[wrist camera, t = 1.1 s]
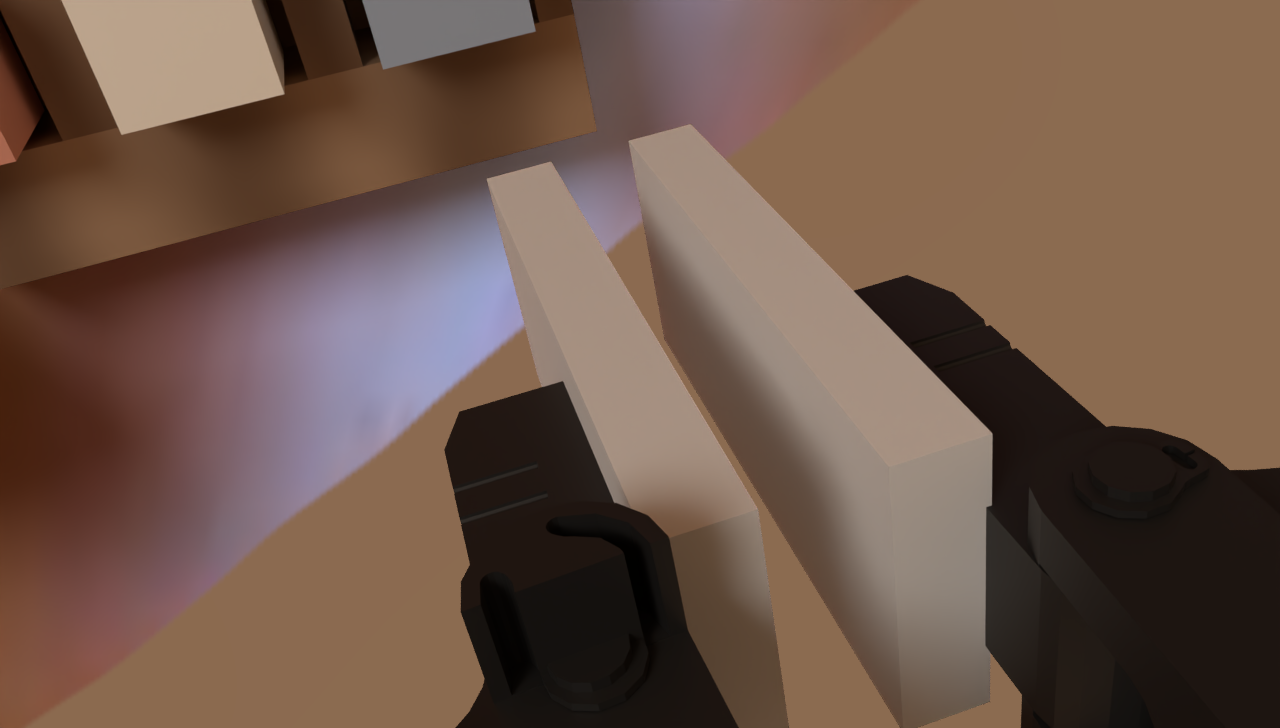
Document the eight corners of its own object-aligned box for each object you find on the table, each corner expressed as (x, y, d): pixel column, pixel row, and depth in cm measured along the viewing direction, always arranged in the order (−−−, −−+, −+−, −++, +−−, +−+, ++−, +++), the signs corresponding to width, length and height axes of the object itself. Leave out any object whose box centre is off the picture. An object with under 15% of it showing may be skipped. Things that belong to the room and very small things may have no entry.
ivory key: (138, 87, 30) (121, 135, 27) (73, -64, 28) (47, -32, 25) (283, 51, 31) (284, 94, 28) (231, -99, 29) (225, -72, 26)
